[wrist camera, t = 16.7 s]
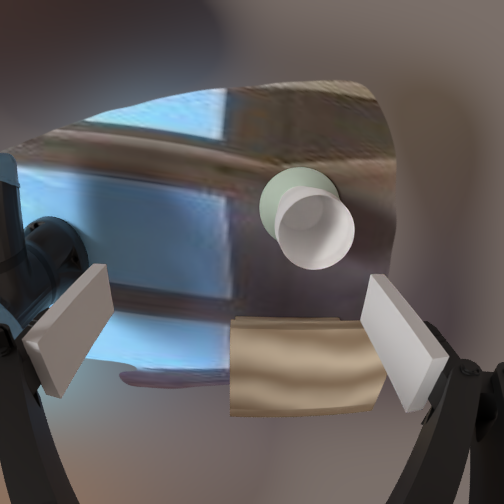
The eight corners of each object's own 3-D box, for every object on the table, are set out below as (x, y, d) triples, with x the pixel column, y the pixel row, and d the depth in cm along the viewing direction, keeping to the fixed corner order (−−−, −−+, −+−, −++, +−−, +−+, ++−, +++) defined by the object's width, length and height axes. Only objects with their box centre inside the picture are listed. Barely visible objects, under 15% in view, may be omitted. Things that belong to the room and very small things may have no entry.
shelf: (237, 249, 48) (230, 328, 29) (350, 253, 48) (404, 326, 29) (235, 323, 53) (230, 416, 34) (337, 324, 53) (371, 410, 34)
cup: (336, 184, 44) (364, 202, 33) (322, 242, 47) (343, 276, 36) (276, 171, 43) (285, 185, 32) (264, 231, 46) (269, 264, 35)
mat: (242, 213, 46) (242, 214, 45) (295, 150, 43) (295, 150, 42) (303, 260, 49) (304, 261, 48) (354, 202, 45) (355, 203, 45)
